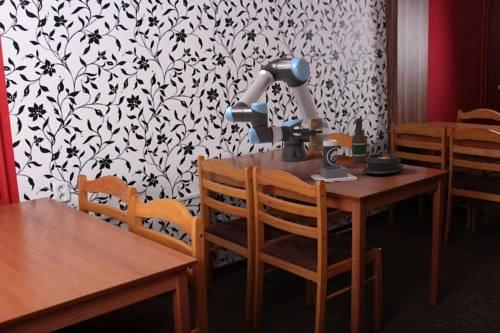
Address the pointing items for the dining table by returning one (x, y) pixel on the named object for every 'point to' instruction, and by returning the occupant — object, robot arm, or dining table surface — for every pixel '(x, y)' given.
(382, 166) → the casserole
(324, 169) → the end cap plate
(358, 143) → the beer bottle
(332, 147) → the coffee cup
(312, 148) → the walnut slat
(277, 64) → the robot arm
